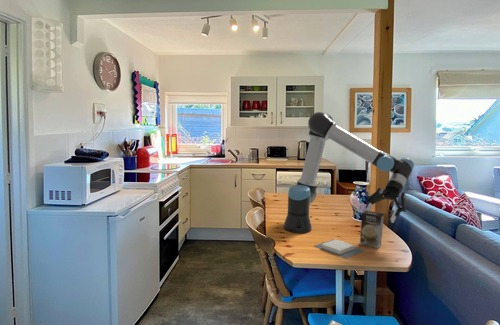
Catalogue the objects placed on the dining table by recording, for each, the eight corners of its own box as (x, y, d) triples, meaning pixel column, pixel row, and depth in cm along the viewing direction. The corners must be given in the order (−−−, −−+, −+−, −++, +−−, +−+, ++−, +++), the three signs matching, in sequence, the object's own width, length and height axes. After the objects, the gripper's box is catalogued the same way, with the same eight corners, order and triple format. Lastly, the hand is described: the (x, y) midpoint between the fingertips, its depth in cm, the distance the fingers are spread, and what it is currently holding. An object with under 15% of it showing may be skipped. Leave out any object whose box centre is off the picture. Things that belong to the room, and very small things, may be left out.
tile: (335, 243, 161) (321, 248, 154) (335, 239, 161) (321, 244, 154) (353, 249, 154) (339, 255, 147) (354, 245, 154) (340, 250, 147)
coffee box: (358, 244, 161) (361, 212, 160) (362, 241, 167) (364, 210, 165) (378, 249, 156) (381, 216, 154) (381, 245, 162) (384, 213, 160)
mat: (312, 247, 157) (313, 246, 156) (333, 240, 167) (333, 239, 167) (346, 259, 143) (346, 258, 143) (366, 251, 153) (366, 250, 153)
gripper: (423, 193, 162) (405, 228, 154) (375, 185, 181) (358, 216, 173) (419, 183, 158) (401, 219, 150) (371, 176, 177) (353, 207, 169)
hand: (378, 217), depth 162 cm, fingers open, 13 cm apart
